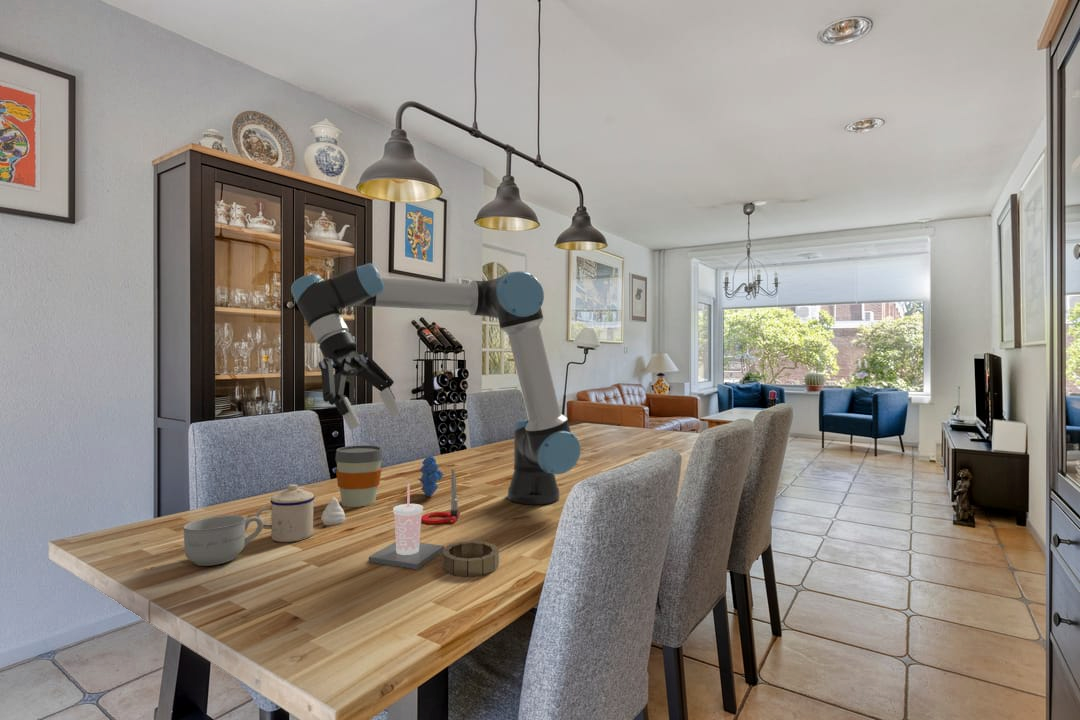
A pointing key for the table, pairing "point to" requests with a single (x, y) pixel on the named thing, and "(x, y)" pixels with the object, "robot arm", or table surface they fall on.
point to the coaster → (406, 556)
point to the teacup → (217, 538)
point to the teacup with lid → (290, 515)
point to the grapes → (430, 475)
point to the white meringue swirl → (333, 513)
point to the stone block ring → (479, 565)
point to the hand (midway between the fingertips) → (376, 420)
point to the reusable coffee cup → (358, 474)
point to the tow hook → (451, 515)
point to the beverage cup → (407, 526)
